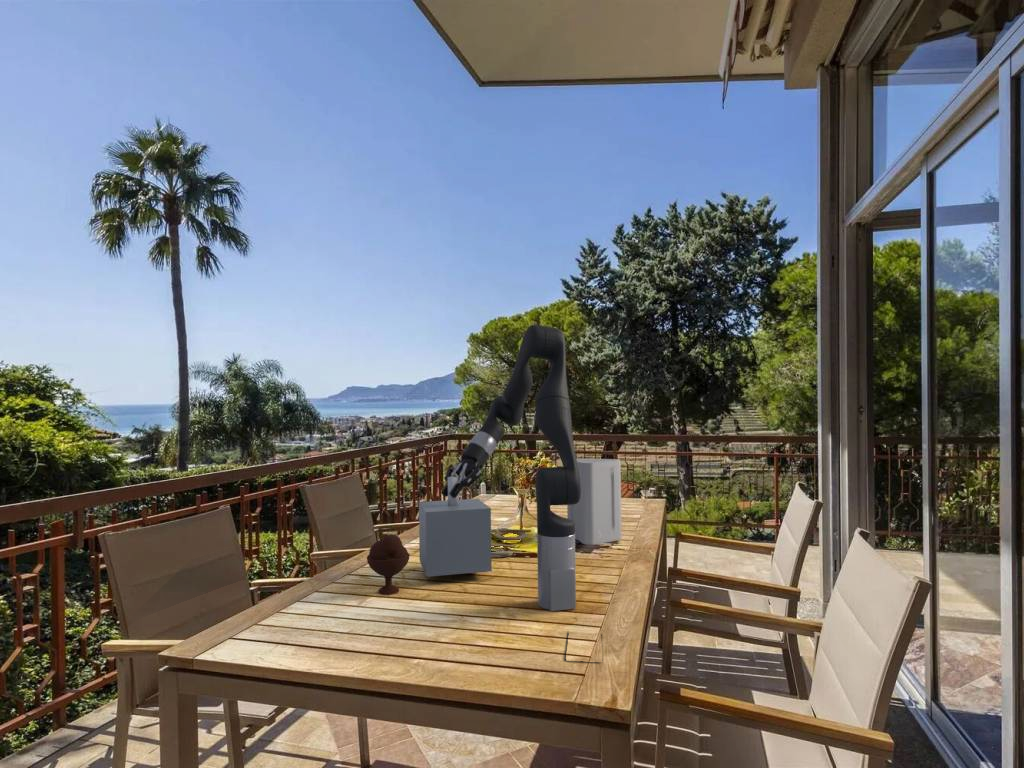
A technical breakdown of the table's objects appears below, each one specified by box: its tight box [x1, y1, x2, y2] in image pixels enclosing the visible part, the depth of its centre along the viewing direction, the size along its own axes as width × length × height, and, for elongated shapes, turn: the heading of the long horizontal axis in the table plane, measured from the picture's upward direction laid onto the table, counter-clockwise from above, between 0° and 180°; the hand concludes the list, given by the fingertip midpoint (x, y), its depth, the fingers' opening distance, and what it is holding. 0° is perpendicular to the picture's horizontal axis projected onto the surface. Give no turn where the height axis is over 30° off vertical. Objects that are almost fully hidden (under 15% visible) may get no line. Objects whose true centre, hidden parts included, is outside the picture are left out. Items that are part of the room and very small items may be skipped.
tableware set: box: [491, 527, 532, 559], centre depth 209 cm, size 35×29×4 cm
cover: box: [418, 476, 493, 578], centre depth 174 cm, size 18×18×25 cm
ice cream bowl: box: [366, 534, 411, 596], centre depth 159 cm, size 11×11×15 cm
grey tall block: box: [566, 458, 623, 546], centre depth 215 cm, size 19×15×28 cm
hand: (448, 495), depth 173 cm, fingers closed on cover, 3 cm apart
